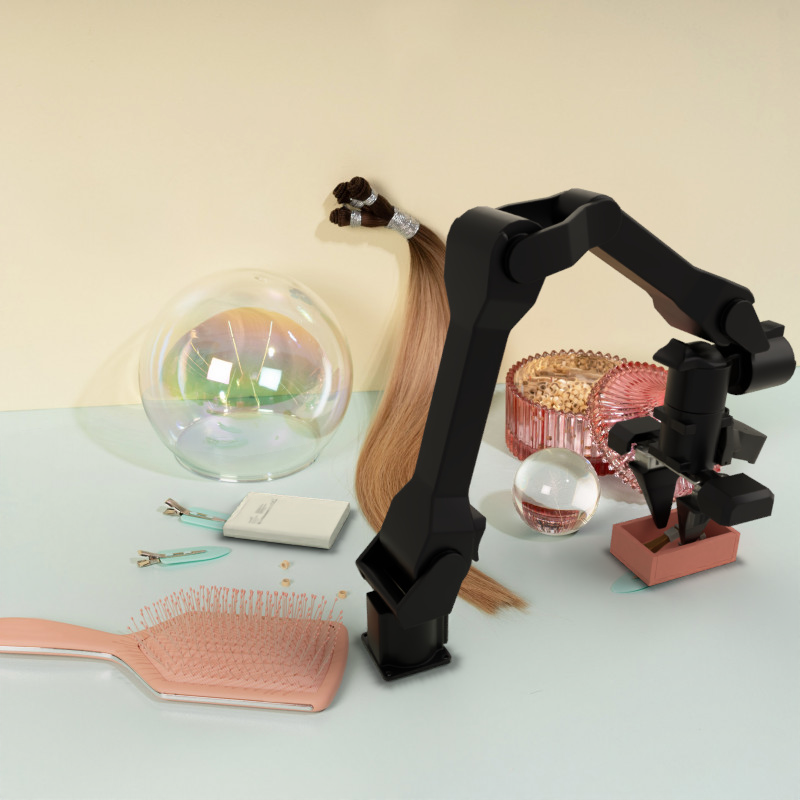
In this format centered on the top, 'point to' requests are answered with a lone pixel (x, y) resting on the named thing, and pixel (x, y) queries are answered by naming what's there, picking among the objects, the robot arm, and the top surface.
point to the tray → (671, 549)
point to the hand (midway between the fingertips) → (673, 537)
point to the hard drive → (288, 520)
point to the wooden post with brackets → (667, 539)
